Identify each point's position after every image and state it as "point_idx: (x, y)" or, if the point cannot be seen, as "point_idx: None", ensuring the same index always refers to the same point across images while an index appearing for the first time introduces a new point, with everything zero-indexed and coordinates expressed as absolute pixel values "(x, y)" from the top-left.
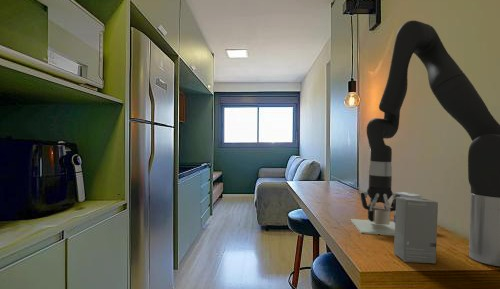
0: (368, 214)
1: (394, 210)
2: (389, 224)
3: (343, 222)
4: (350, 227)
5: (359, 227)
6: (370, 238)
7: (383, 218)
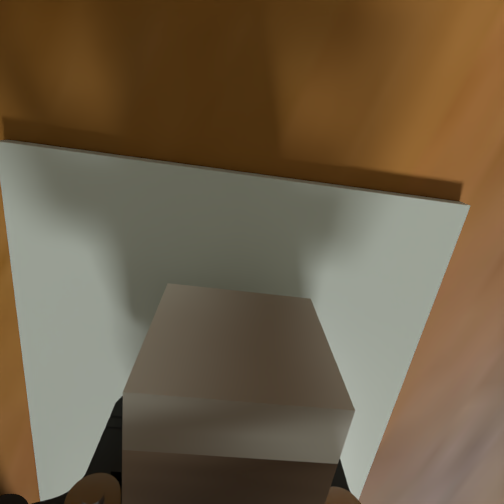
0: None
1: (3, 502)
2: (99, 440)
3: (423, 467)
4: (445, 359)
5: (405, 330)
6: (462, 32)
7: (231, 328)
